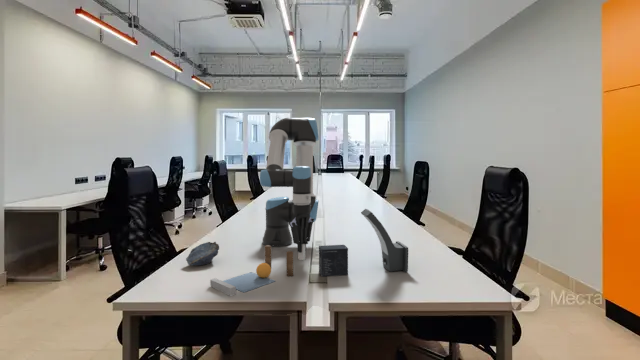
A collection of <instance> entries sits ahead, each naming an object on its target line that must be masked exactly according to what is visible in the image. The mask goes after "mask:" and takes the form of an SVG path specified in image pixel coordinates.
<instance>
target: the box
mask: <svg viewBox="0 0 640 360" xmlns="http://www.w3.org/2000/svg"><path fill="white" fill-rule="evenodd" d="M318 272H319V274H320V277H336V276H337V277H338V276H348V275H349V248H348V247H347V246H346V245H345V244H328V245H319V246H318Z"/></svg>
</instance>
